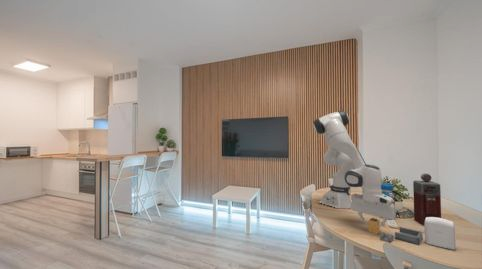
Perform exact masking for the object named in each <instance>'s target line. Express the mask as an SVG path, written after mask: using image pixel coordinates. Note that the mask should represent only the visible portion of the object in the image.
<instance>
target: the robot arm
mask: <svg viewBox="0 0 482 269" xmlns="http://www.w3.org/2000/svg"><path fill="white" fill-rule="evenodd" d="M349 121H350V118H349V115H348V113H346V111H344V110H337V111H335V112H331V113H328V114H326V115H323V116H321V117H319V118H316V119H314V120H313V125H312V126H313V129H314V131H315V133H317V134H319V135H321V134H324V138H325V143H326V146H327V151H326V152H325V153H324V154H323V162H324V163H325V164H326V165H329V166H331V167H339V168H338V171H336V172H333V174H332V185H330V186H329V189H330V190H328V191H326V193H324V194H323V195H322V199H320V200H319V201H321V202H318V204H319V203H322V204H321V205H323V204H326V205H329V206H332V207H331V208H333V207H335V208H334V209H337V208H338V209H351V211H353V212H357V215H358V216H359V218H360V222H365V219H366V218H365V217H363V214H365V215H370V216H375V217H379V218H382V217H383V218H382V220H383V221H380V226H381V227H383V228H384V227H386V222H387V221H388V220H391V221H393V220H395V219H396V218H397V210H396V205H395V206H394V204H393V203H392V202H393V198H391V197H389V196H386V195H384V194H382V190H381V185H382V184H383V180H382V171H381V168H380V167H378V166H376V165H373V164H367V163H366V161H365V159H364V158H363V155H362V154H361V152H360V150H359V149H358V147H357V145H355V144H354V142H353V141H352V138H351V136H350V135H349V133H348V130H347V128H346V126H348V124H349ZM351 188H361V191H362V192H361V194H360V193H359V194H358V193H353V194H351V192H352V190H351ZM326 205H325V206H326ZM329 206H328V207H329Z"/></svg>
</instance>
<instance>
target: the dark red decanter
mask: <svg viewBox="0 0 482 269" xmlns="http://www.w3.org/2000/svg"><path fill="white" fill-rule="evenodd" d="M420 179H421V180H413V183H412V185H413V190H412V192H413V220H414V221H415V222H416V223H418V224H419V225H421V226H423V227H425V224H424V222H425V219H426V217H438V218H442V197H441V195H442V194H441V192H442V191H441V184H440V183H437V182H435V181H432V176H431V175H430V174H429V173H422V174H421V175H420Z"/></svg>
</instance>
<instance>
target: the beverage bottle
mask: <svg viewBox="0 0 482 269" xmlns="http://www.w3.org/2000/svg"><path fill="white" fill-rule="evenodd" d="M381 190H382V194H384V195H386V196H389V197H391V198H393V202H392V203H393V204H394V206H395V207H396V199H395V197H396V196H395V194H394V192H393V191H394V185H393V184H391V183H382V185H381ZM381 218H382V219H383V217H381Z"/></svg>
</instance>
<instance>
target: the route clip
mask: <svg viewBox="0 0 482 269" xmlns="http://www.w3.org/2000/svg"><path fill="white" fill-rule="evenodd" d="M393 240H394V235H393V234H390V236H386V233H385V232H383V233H381V235H380V241H382V242H386V243H389V244H391V243H392V242H393Z"/></svg>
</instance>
